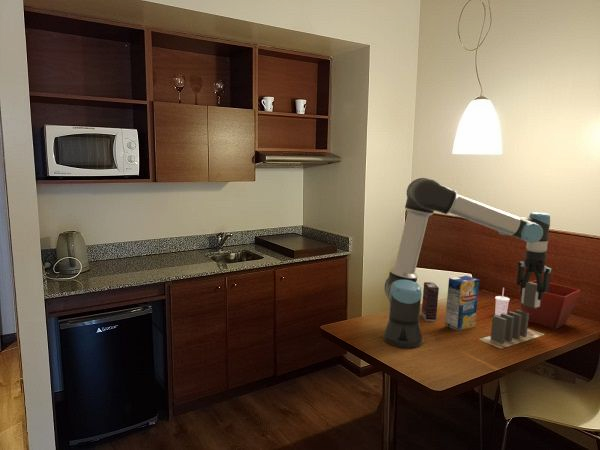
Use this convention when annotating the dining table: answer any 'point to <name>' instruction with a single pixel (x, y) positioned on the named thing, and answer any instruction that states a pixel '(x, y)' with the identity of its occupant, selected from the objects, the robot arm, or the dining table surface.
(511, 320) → the domino
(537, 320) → the plant pot
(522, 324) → the domino
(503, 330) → the domino
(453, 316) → the beverage box
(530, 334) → the board
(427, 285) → the supplement box
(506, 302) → the beverage cup
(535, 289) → the domino
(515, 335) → the domino
